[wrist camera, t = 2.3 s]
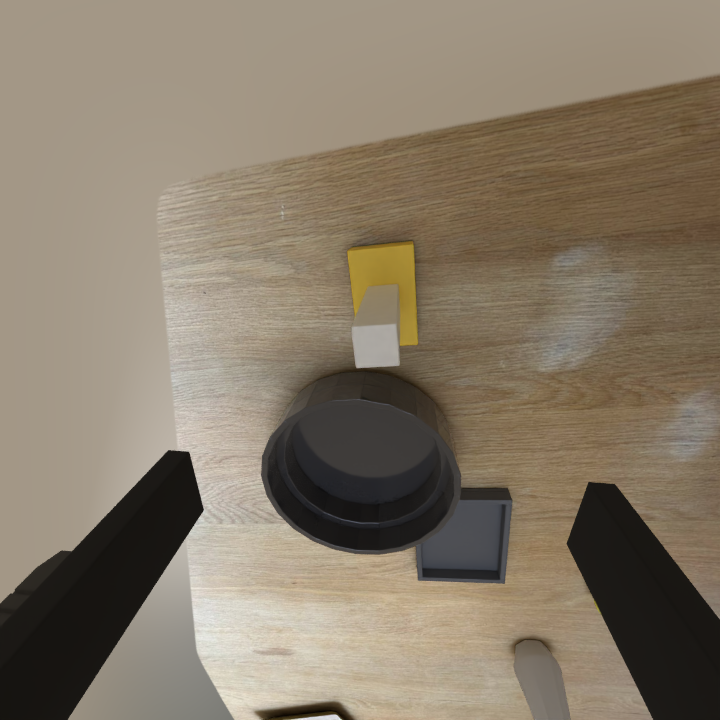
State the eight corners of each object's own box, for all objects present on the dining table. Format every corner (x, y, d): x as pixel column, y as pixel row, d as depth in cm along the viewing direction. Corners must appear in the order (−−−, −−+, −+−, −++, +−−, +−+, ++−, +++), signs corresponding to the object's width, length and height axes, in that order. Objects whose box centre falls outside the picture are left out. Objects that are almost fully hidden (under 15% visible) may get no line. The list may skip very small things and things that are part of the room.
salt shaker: (558, 656, 48) (610, 802, 36) (518, 662, 50) (554, 805, 38) (544, 632, 46) (593, 778, 34) (502, 640, 48) (536, 782, 36)
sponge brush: (351, 246, 29) (317, 274, 17) (412, 240, 28) (420, 264, 16) (362, 336, 32) (339, 413, 20) (416, 333, 31) (426, 410, 19)
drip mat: (412, 488, 38) (412, 500, 37) (507, 488, 37) (512, 500, 35) (417, 567, 44) (418, 580, 42) (501, 570, 42) (504, 583, 41)
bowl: (489, 442, 35) (506, 485, 29) (375, 530, 42) (371, 579, 36) (350, 331, 32) (339, 356, 26) (251, 446, 39) (226, 486, 33)
